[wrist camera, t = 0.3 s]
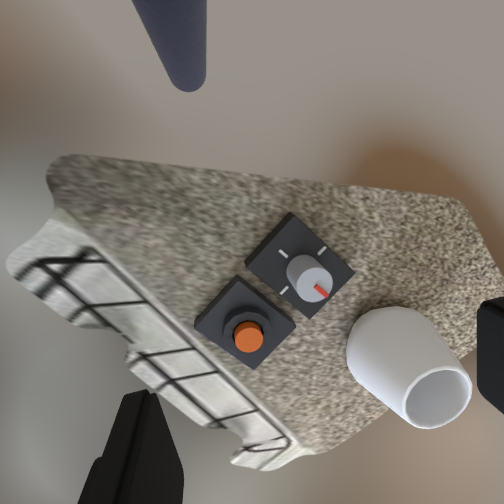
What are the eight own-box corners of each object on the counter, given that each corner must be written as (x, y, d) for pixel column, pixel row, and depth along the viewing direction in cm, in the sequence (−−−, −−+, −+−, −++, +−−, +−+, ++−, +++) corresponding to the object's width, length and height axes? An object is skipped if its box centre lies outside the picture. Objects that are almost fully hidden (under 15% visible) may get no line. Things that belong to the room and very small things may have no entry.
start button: (228, 335, 43) (229, 342, 41) (246, 316, 42) (248, 322, 41) (248, 349, 44) (250, 357, 42) (266, 331, 43) (268, 338, 42)
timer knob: (279, 272, 42) (289, 288, 37) (302, 247, 42) (316, 260, 37) (302, 292, 44) (315, 310, 39) (325, 268, 43) (341, 283, 38)
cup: (425, 294, 49) (505, 346, 36) (408, 370, 53) (475, 441, 40) (342, 295, 47) (394, 350, 34) (330, 373, 51) (374, 449, 38)
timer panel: (244, 261, 44) (246, 267, 41) (289, 211, 43) (294, 215, 40) (304, 311, 47) (310, 320, 45) (348, 266, 46) (356, 273, 44)
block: (194, 320, 45) (193, 335, 42) (236, 274, 44) (239, 285, 41) (251, 361, 49) (255, 379, 45) (292, 319, 48) (300, 333, 44)
